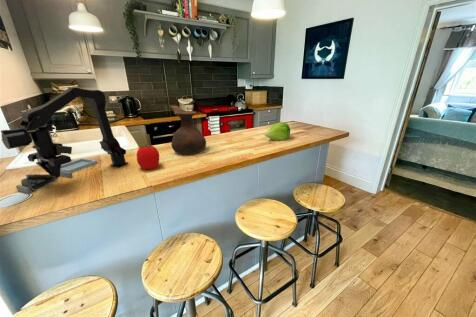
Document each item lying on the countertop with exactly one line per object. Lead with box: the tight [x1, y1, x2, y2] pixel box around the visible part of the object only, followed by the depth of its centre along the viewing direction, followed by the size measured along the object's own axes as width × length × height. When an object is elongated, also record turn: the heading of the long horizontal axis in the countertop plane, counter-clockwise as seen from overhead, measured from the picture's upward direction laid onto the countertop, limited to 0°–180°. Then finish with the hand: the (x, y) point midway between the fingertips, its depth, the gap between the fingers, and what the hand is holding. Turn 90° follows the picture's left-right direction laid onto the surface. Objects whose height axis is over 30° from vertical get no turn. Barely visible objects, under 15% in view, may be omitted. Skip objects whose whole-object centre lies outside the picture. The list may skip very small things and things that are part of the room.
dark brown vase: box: [169, 105, 207, 156], centre depth 127 cm, size 22×22×30 cm
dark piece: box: [20, 173, 59, 192], centre depth 90 cm, size 10×7×12 cm
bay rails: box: [15, 171, 74, 195], centre depth 92 cm, size 8×17×3 cm, turn 159°
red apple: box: [136, 143, 160, 170], centre depth 107 cm, size 12×12×13 cm
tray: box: [60, 157, 99, 174], centre depth 110 cm, size 12×15×2 cm
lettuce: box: [264, 121, 291, 142], centre depth 151 cm, size 15×22×15 cm, turn 115°
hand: (56, 176), depth 88 cm, fingers open, 3 cm apart
